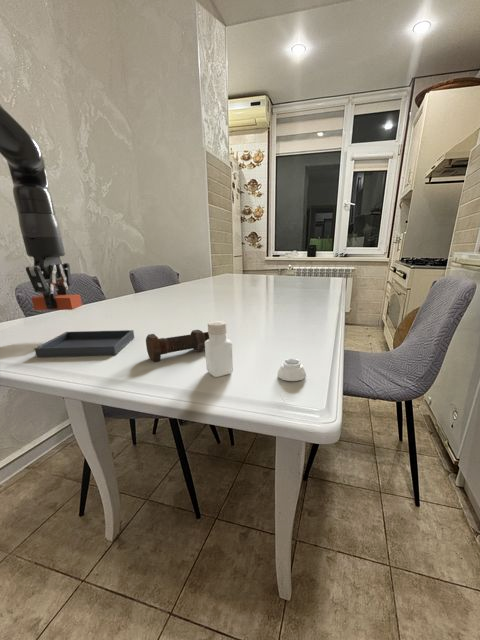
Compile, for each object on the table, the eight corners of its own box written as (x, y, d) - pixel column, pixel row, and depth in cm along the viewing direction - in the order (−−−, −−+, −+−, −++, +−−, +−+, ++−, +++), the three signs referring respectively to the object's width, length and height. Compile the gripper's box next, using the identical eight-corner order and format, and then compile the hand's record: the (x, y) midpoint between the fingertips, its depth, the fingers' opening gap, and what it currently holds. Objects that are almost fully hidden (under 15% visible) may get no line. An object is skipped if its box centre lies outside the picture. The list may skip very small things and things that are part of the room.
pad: (34, 310, 72) (31, 298, 71) (46, 305, 77) (43, 294, 76) (72, 309, 73) (69, 297, 72) (82, 305, 77) (80, 294, 76)
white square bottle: (234, 373, 53) (232, 324, 50) (214, 379, 51) (210, 327, 48) (224, 366, 57) (222, 319, 53) (205, 371, 55) (201, 322, 51)
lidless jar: (273, 380, 51) (301, 385, 49) (273, 364, 50) (302, 369, 48) (282, 369, 55) (308, 373, 53) (283, 355, 54) (309, 358, 52)
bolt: (218, 353, 68) (152, 366, 60) (209, 338, 70) (145, 349, 62) (223, 336, 64) (153, 347, 56) (214, 320, 66) (146, 329, 58)
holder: (36, 357, 61) (34, 348, 61) (68, 339, 73) (66, 331, 72) (115, 355, 62) (114, 346, 62) (134, 337, 74) (133, 330, 73)
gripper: (44, 235, 75) (59, 301, 81) (2, 234, 62) (24, 312, 67) (74, 236, 76) (87, 301, 81) (39, 234, 62) (58, 312, 68)
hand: (58, 306), depth 74 cm, fingers closed on pad, 5 cm apart
